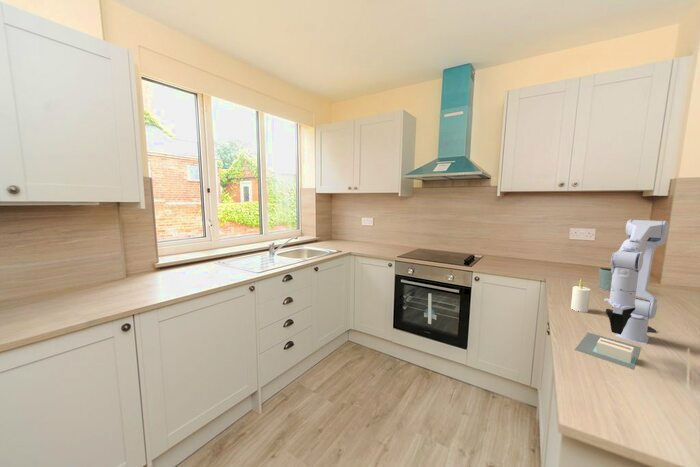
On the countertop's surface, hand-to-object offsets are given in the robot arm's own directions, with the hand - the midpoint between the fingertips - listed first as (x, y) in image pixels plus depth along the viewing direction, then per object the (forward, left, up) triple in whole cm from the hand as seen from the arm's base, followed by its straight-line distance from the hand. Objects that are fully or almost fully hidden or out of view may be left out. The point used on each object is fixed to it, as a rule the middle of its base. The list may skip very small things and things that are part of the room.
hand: (618, 329), depth 88 cm
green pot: (-95, -14, -10) cm, 96 cm away
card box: (0, 0, -9) cm, 9 cm away
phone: (-40, 0, -10) cm, 41 cm away
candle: (-42, -17, -10) cm, 46 cm away
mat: (-4, -2, -9) cm, 10 cm away
